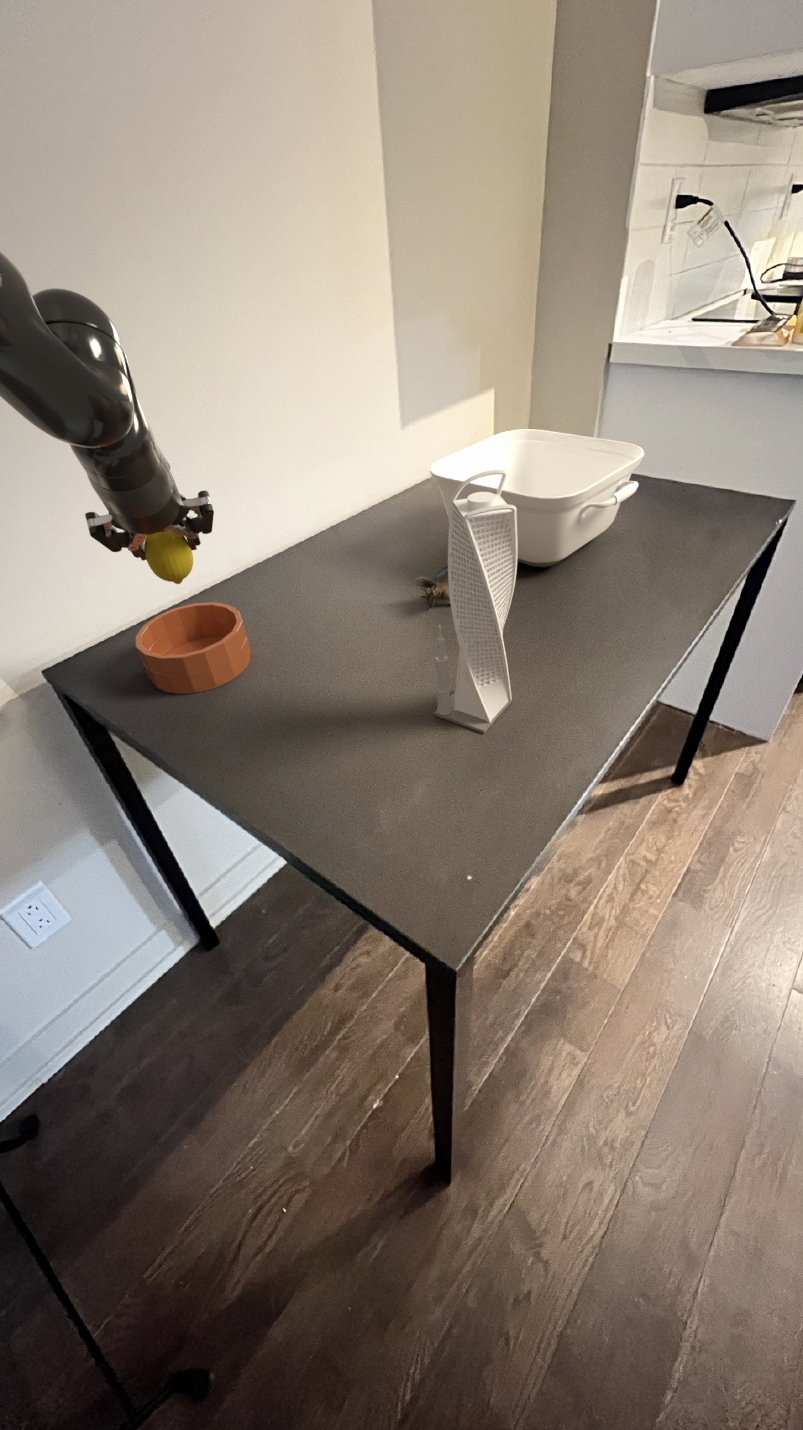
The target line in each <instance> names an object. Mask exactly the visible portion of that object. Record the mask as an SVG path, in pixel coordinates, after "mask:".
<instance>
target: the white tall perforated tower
mask: <svg viewBox="0 0 803 1430" xmlns="http://www.w3.org/2000/svg"><path fill="white" fill-rule="evenodd" d="M496 474H499V475H502V477H501V480H500V483H499V486H498V490H497V493H496V494H493V493H490V492H476V493H473V494H470V495H469V496H468V497H467V499H460V500H456V498H457V496H458V494H459V493H460V491H461V490H462V489H463V488H464V487H465V486H466V485H467V484H468V483H470V482H472V481H474V480H476V479H478V478H481V477H484V476H489V475H496ZM507 474H508V473H507V472H506V471H504V470H489V471H485V472H481V473H479V474H476V475H474V476H471V477H470V478H468V479H466V480H465V481H464V482H463V483H462V484H461V485H460V486H459V487H458V488H457V490H456V491H455V493H454V494H453V496H452V498H451V500H450V515H449V519H448V534H447V535H448V538H447V566H448V582H449V595H450V601H449V602H450V603H449V605H450V609H451V616H452V622H453V627H454V629H455V630H454V632H455V635H456V638H457V639H456V640H457V643H458V646H459V649H458V656H457V657H458V659H457V668H456V679H455V690H454V691H453V692H452V694H451V691H452V687H451V686H450V681H449V675H448V673H449V672H448V671H449V657H448V656H447V654H446V653H445V637H444V636H443V633H442V632H443V631H442V627H443V626H442V624H438V625H437V627H438V637H437V638H436V643H437V649H438V650H437V651H438V652H437V655H436V656H435V657H434V661H435V669H436V675H437V677H436V687H435V693H436V698H437V708H436V710H435V711H434V716H436V717H438V718H440V719H444V720H447V721H449V722H452V723H454V724H458V725H460V726H463V727H464V728H465V727H466V728H468V729H470V730H473V731H476V732H479V733H482V734H485V733H486V732H487V731H488V730H489V728H491V726H492V725H493V724H494V723H495V722H496V720H497V719H498V718H499V717H500V716H501V715H502V714H503V713H504V711H505V710H506V709H507V708H508V707H509V705H510V704H511V703H512V701H513V697H512V689H511V681H510V680H511V679H510V672H509V665H508V659H507V653H506V648H505V643H504V641H505V640H504V637H503V635H504V627H505V625H506V621H507V618H508V615H509V611H510V608H511V604H512V600H513V596H514V591H515V587H516V580H517V573H518V572H517V570H518V562H517V556H518V538H517V514H516V510H517V509H516V507H515V506H514V505H509V504H507V503H506V502H505V501H504V500H503V498H502V497H501V496H500V495H501V492H502V489H503V486H504V483H505V480H506V477H507Z"/></svg>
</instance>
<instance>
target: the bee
mask: <svg viewBox="0 0 803 1430" xmlns="http://www.w3.org/2000/svg"><path fill="white" fill-rule="evenodd" d="M414 584H415V585H416V586H417V587H418V588H420V590H421V591H424V592H425V594H426V596H425V595H420V598H421V599H424V600H426V602H427V606H426V607H427V608H426V609H427V610H428V611H429V610H430V609H432V608H433V607H434V606H435V604H436V603H435V602H436V600H437V599H438V598H440V597H441V598H443V599H445V600H447V601H449V602H450V595H449V582H448V565H446V566H442V567H441V568H440V569H439V570H438V572H437V574H436V575H435V578H434V580H433V579H429V578H428V577H426V576H420V577H416V578H415V579H414ZM428 588H429V589H430V590H429V589H428Z"/></svg>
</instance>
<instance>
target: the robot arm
mask: <svg viewBox="0 0 803 1430" xmlns="http://www.w3.org/2000/svg"><path fill="white" fill-rule="evenodd" d="M0 398H1V399H2V400H4V401H5V402H6V403H7V404H8V405H9V406H10V407H12V409H14V410H15V411H16V412H17V413H18V414H20V415H21V416H22V417H23V418H24V419H26V420H27V421H28V422H29V423H30V424H31V425H33V426H35V427H36V428H37V429H39V430H40V431H42V432H43V433H45V434H47V435H48V436H50V437H52V438H54V439H55V440H58V441H61V442H63V443H66V444H68V445H69V447H70V449H71V451H72V452H73V454H74V456H75V457H76V459H77V460H78V462H79V463H80V465H81V467H82V469H84V471H85V473H86V476H87V478H88V480H89V483H90V485H91V487H92V488H93V490H94V492H95V493H96V495H97V496H98V498H99V499H100V501H101V502H102V504H103V505H104V507H105V508H106V510H107V511H108V514H107V513H106V514H103V515H99V514H98V513H97V512H96V511H89V512H85V514H84V516H85V521H86V523H87V528H88V533H89V536H90V537H91V538H92V539H93V540H96V542H98V543H100V544H101V546H102V545H103V547H105V548H106V549H108V550H109V551H110V552H112V553H119V552H121V551H122V550H123V549H127V550H128V551H129V552H131V554H132V555H133V557H134V558H136V559H138V558H139V559H141V561H142V562H143V561H147V560H146V556H145V550H144V543H145V538H146V536H148V535H151V534H154V533H157V532H168V531H169V532H171V533H173V534H175V535H177V536H179V537H181V536H184V537H185V538H186V540H187V542H188V544H189V546H190V548H191V551H197V550H198V548H197V546H200V545H201V544H202V543H201V539H200V535H199V534H200V533H202V534H203V535H208V534H211V533H212V531H213V526H214V525H213V524H214V515H215V511H214V507H213V503H212V499H211V495H210V492H209V491H208V490H200V491H199V492H198V493H197V497H194V498H187V497H186V496H185V495H184V494H181V493H180V492H179V489H178V487H177V484H176V481H175V479H174V476H173V474H172V471H171V465H170V463H169V462H168V460H167V458H166V457H165V455H164V453H163V451H162V449H160V448H161V447H160V446H159V445H158V443H157V441H156V438H155V436H154V435H155V434H154V433H153V431H152V428H151V426H150V424H149V422H148V420H147V418H146V417H145V414H144V411H143V409H142V406H141V404H140V401H139V397H138V394H137V389H136V385H135V383H134V379H133V374H132V371H131V367H130V364H129V360H128V357H127V353H126V350H125V347H124V344H123V341H122V338H121V335H120V333H119V331H118V329H117V327H116V325H115V324H114V322H113V321H112V319H111V318H110V316H109V314H107V313H106V312H105V311H104V310H103V309H102V308H101V307H100V306H99V304H96V303H95V301H93V300H92V299H90V298H88V297H86V296H85V295H83V294H81V293H79V292H76V291H73V290H69V289H65V288H59V287H57V288H47V289H42V290H40V291H38V292H36V293H34V294H32V291H31V289H30V286H29V285H28V282H27V281H26V278H24V276H23V274H22V272H21V271H20V270H19V269H18V267H17V266H16V265H15V263H14V262H13V261H11V259H10V258H8V256H6V255H5V254H4V253H3V252H2V251H0ZM190 511H191V512H193V513H194V515H195V514H196V515H197V516H195V517H194V516H192V515H191V514H189V513H190ZM117 529H119V530H122V531H119V532H118V530H117Z"/></svg>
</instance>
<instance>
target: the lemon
mask: <svg viewBox="0 0 803 1430" xmlns="http://www.w3.org/2000/svg"><path fill="white" fill-rule="evenodd" d="M144 550H145V556H146V560H145V561H146V563H147V564H148V567H149V568H150V570H151V571H152V573H153V574H154V575H155V576H156V577H157V578H159V579H161V580H163V581H166V582H169V583H170V582H171V583H174V584H176V585H180V584H182V583H183V581H184V579H186V578H187V577H188V576H189V575H190V573H191V572H192V570H193V566H194V554H193V550H191V548H190V546H189V544H188V541H187V538H186V537H185V536H181V537H179V536H177V535H175V534H173V533H171V532H169V531H168V532H157V533H154V534H151V535H148V536H146V538H145V540H144Z"/></svg>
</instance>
